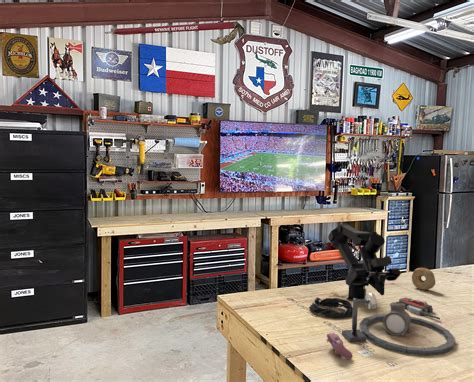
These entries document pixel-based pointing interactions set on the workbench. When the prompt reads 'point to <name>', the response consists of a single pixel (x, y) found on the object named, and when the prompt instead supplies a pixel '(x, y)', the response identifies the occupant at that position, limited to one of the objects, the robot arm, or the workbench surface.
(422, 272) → the stone disc
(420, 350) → the ring
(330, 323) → the workbench surface
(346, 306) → the cable
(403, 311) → the pipe fitting
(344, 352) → the purple elongated lump
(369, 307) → the stand
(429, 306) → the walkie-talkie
